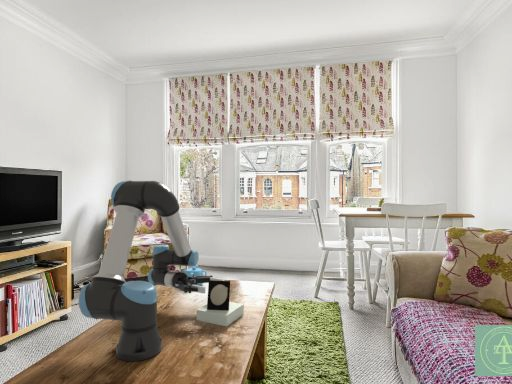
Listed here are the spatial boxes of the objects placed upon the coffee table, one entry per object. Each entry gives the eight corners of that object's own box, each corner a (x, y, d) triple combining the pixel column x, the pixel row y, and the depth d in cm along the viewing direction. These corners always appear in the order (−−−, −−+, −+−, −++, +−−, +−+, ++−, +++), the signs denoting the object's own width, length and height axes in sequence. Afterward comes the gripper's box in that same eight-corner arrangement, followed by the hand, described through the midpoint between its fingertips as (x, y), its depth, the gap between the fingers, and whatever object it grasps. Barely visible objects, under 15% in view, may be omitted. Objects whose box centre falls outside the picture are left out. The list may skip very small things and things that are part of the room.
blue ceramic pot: (188, 291, 184) (189, 271, 184) (177, 283, 196) (178, 265, 195) (208, 287, 192) (209, 268, 192) (196, 280, 203) (197, 262, 203)
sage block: (226, 327, 137) (226, 315, 137) (196, 321, 143) (196, 309, 143) (243, 315, 150) (243, 304, 150) (215, 309, 157) (215, 299, 157)
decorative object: (210, 308, 150) (231, 309, 149) (205, 310, 140) (227, 311, 140) (212, 280, 153) (232, 281, 152) (207, 280, 144) (229, 280, 143)
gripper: (192, 281, 169) (228, 286, 159) (157, 295, 146) (196, 303, 137) (192, 266, 169) (228, 271, 159) (157, 278, 146) (196, 284, 137)
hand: (213, 286), depth 148 cm, fingers open, 13 cm apart
